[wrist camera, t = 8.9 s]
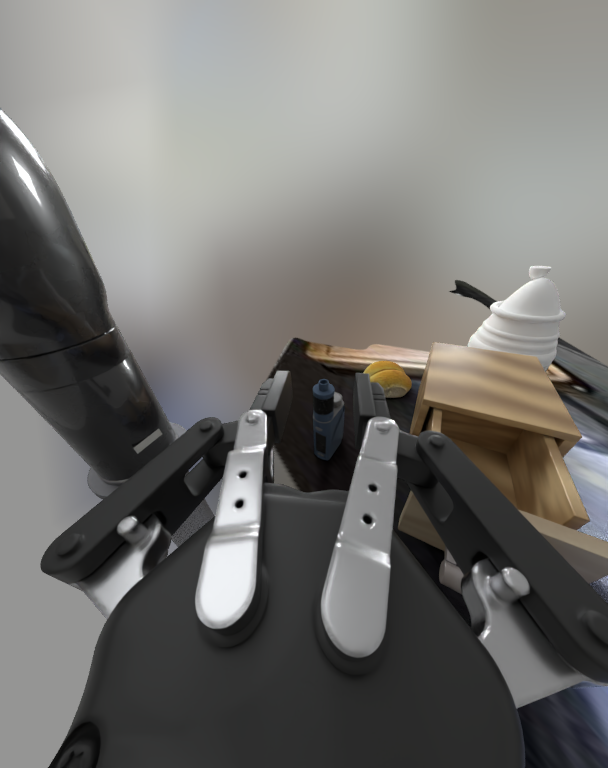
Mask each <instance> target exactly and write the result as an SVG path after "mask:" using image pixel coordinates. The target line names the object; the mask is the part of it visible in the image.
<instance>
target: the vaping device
mask: <svg viewBox="0 0 608 768" xmlns="http://www.w3.org/2000/svg"><path fill="white" fill-rule="evenodd" d="M313 406H314V414H313V426H314V454H316V456H317V457H318V458H320V459H323V460H329V459H330V458H331V457H332V455H333V454H334V452H335V451H336V449H337V448H338V446H339V445H340V443H341V439H342V438H343V426H344V412H345V407H344V402H343V401H342V395H341V394H339V393H336V392H334V387H333V386H332V385H331V384H329V382H328V380H326V379H321V380H319V384H316V385H315V386H314V387H313Z"/></svg>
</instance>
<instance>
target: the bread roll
mask: <svg viewBox="0 0 608 768" xmlns="http://www.w3.org/2000/svg"><path fill="white" fill-rule="evenodd" d="M364 373H369V377H370V382H378V383H379V384H380V385H381V386H382V387H383V389H384V393H385V397H386V398H396V397H402V396H404V395H405V394H406V393H407V392H408V391H409V390H410V388H411V380H410V378H409V377H408V376H407V375H406V374H405V372H404V370H403V369H402V368H401V367H400V366H399V365H398V364H396V363H393V362H390V361H379V362H375V363H373V364H371V365H370V366H368V367H367V369H366V370H365V371H364Z"/></svg>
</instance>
